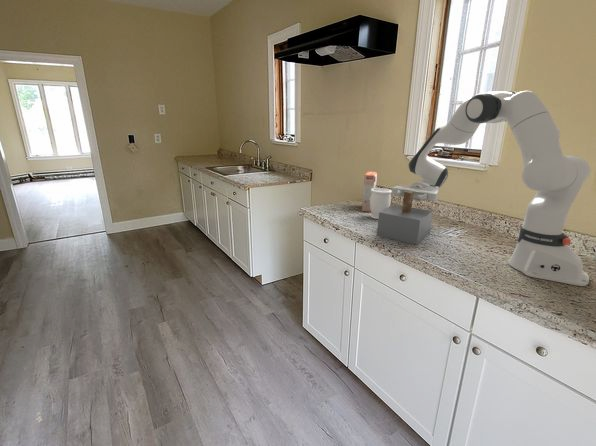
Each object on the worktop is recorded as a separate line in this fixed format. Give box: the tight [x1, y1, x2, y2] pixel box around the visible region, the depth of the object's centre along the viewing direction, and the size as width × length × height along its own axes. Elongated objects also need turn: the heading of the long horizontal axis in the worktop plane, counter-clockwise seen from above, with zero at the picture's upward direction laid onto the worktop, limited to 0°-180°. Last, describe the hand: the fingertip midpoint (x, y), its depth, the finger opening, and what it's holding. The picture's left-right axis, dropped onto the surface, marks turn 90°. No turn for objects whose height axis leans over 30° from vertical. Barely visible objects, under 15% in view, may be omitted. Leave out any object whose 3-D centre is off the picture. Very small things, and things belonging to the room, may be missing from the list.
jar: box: [370, 187, 392, 220], centre depth 167 cm, size 11×10×15 cm
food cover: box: [376, 191, 434, 246], centre depth 141 cm, size 18×18×20 cm
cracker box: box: [361, 171, 378, 213], centre depth 182 cm, size 14×6×21 cm, turn 161°
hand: (408, 196), depth 140 cm, fingers open, 8 cm apart
